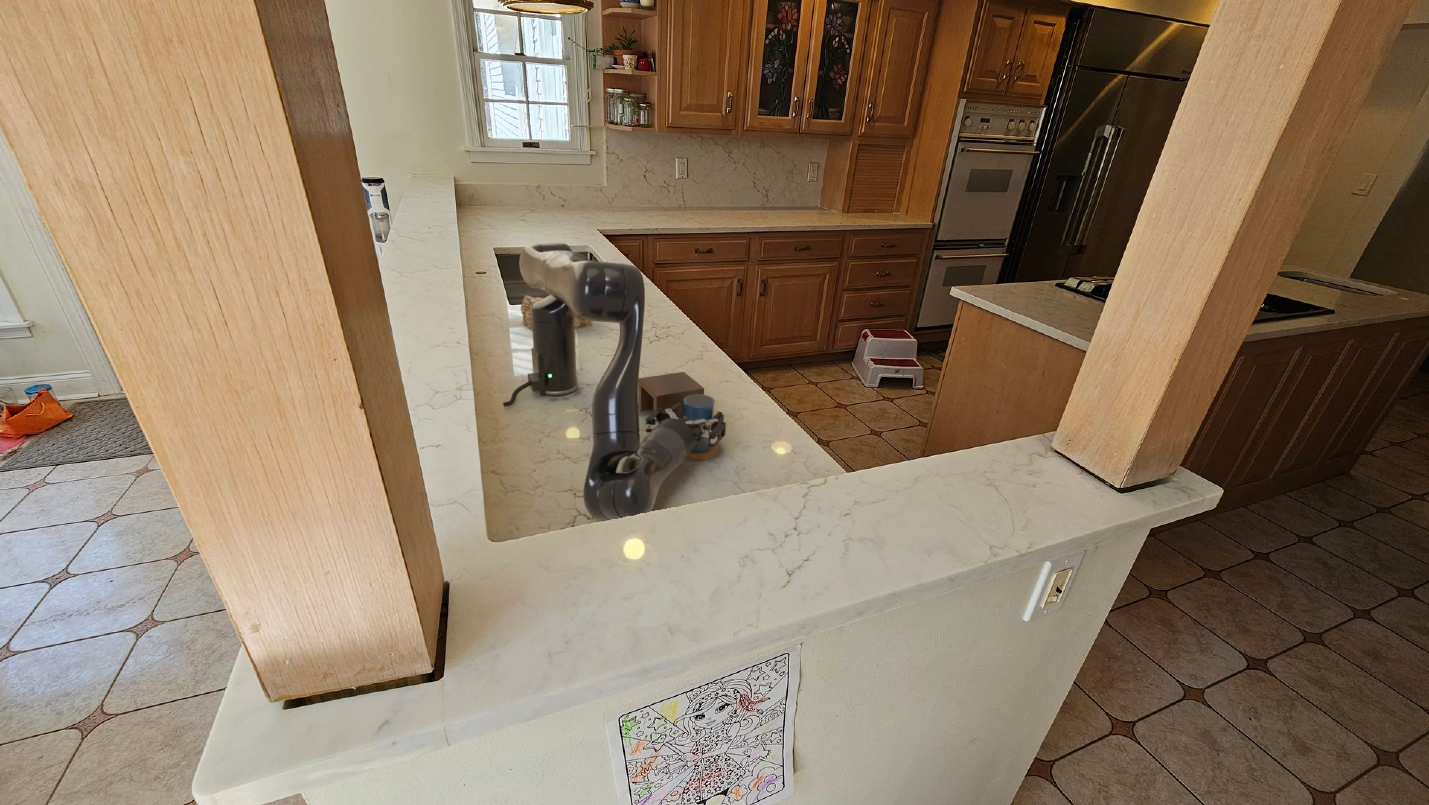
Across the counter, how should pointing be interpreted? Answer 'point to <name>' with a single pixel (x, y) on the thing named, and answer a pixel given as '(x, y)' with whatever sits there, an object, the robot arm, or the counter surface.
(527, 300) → the rock
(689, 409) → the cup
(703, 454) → the coaster
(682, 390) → the shelf
